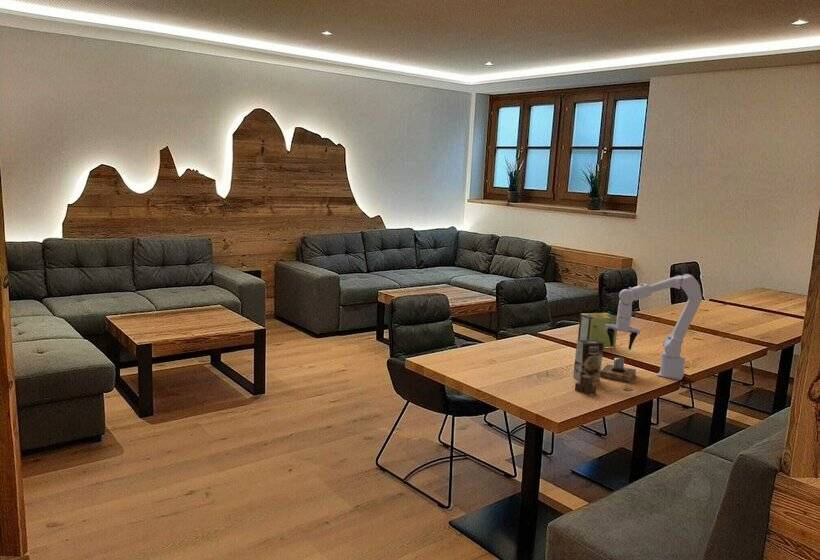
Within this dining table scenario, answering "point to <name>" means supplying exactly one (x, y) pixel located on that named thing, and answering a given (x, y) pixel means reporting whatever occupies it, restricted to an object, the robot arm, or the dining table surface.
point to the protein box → (596, 327)
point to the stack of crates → (585, 385)
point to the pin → (618, 364)
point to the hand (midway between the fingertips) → (620, 347)
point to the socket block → (618, 373)
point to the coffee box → (588, 359)
